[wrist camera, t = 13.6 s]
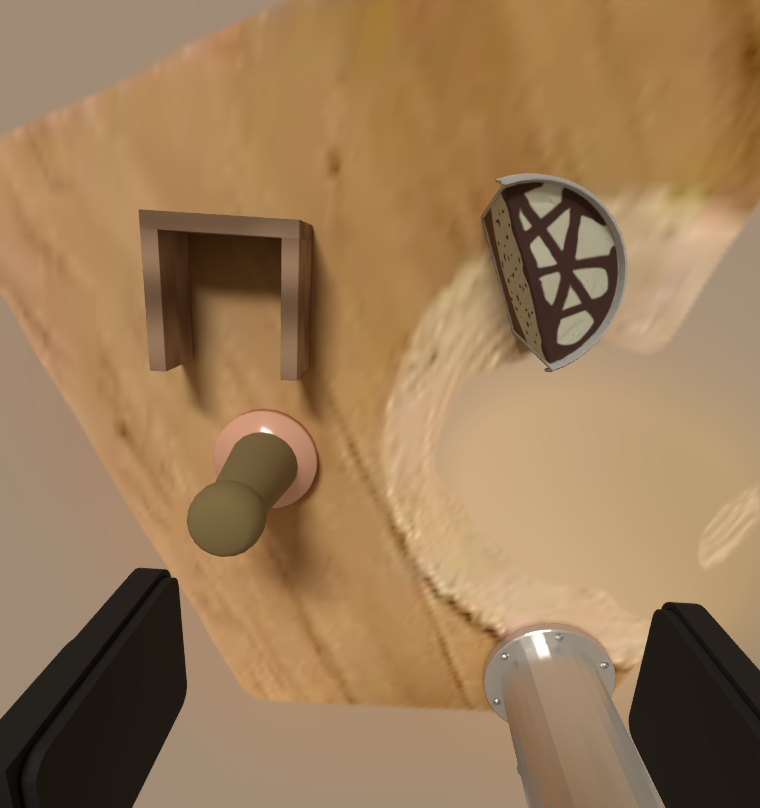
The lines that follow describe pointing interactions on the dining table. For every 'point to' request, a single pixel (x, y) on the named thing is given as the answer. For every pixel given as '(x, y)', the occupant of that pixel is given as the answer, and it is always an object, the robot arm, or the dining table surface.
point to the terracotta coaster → (283, 429)
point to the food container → (555, 264)
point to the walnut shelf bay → (172, 282)
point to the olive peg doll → (242, 495)
